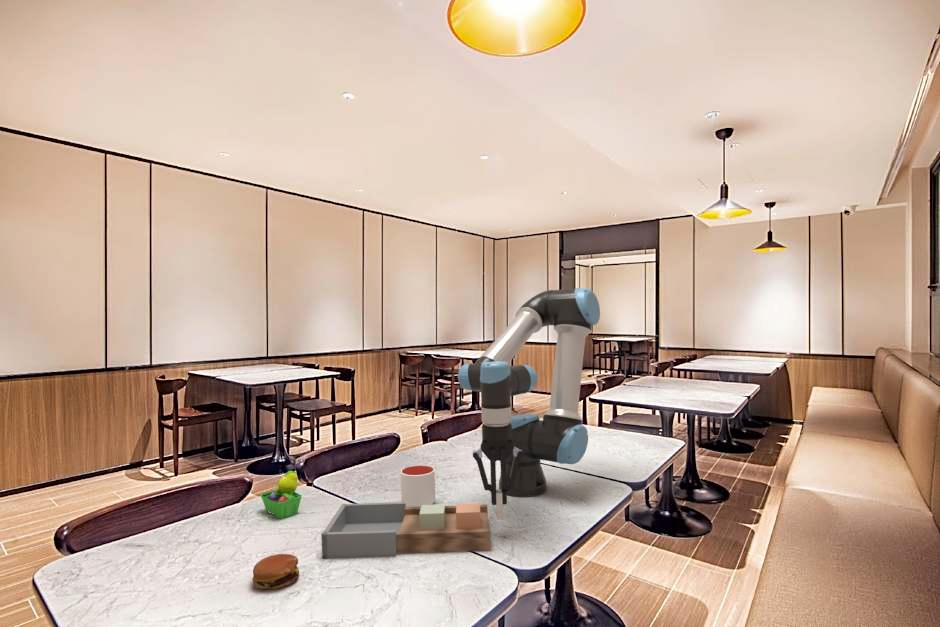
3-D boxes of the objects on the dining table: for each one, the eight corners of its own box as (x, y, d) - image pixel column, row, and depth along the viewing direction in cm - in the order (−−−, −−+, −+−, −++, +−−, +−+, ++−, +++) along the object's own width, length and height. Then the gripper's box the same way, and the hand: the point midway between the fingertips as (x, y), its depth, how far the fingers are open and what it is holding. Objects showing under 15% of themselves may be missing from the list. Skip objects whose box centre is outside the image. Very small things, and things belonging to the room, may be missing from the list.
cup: (430, 511, 145) (429, 476, 145) (396, 509, 147) (395, 475, 147) (439, 498, 155) (438, 465, 155) (407, 497, 157) (406, 464, 157)
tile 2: (480, 518, 131) (479, 503, 131) (480, 528, 125) (480, 512, 125) (457, 519, 131) (456, 503, 131) (456, 529, 125) (456, 512, 125)
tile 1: (445, 519, 131) (444, 504, 131) (444, 529, 125) (443, 513, 125) (422, 520, 131) (421, 504, 131) (419, 530, 125) (419, 514, 125)
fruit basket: (259, 512, 149) (258, 473, 149) (288, 503, 155) (287, 466, 155) (278, 522, 141) (277, 481, 141) (307, 512, 147) (306, 473, 147)
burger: (248, 578, 110) (247, 557, 110) (291, 565, 116) (291, 545, 116) (258, 598, 102) (258, 575, 102) (305, 583, 108) (304, 561, 108)
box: (406, 522, 138) (405, 502, 138) (396, 555, 118) (395, 532, 118) (342, 524, 138) (342, 504, 138) (322, 558, 118) (321, 534, 118)
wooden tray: (487, 521, 136) (487, 504, 136) (490, 550, 119) (489, 531, 120) (405, 524, 136) (405, 507, 136) (396, 553, 119) (396, 534, 119)
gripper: (520, 419, 132) (523, 510, 132) (470, 421, 132) (473, 512, 132) (524, 425, 124) (527, 522, 124) (470, 427, 124) (474, 524, 124)
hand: (499, 517), depth 128 cm, fingers closed
